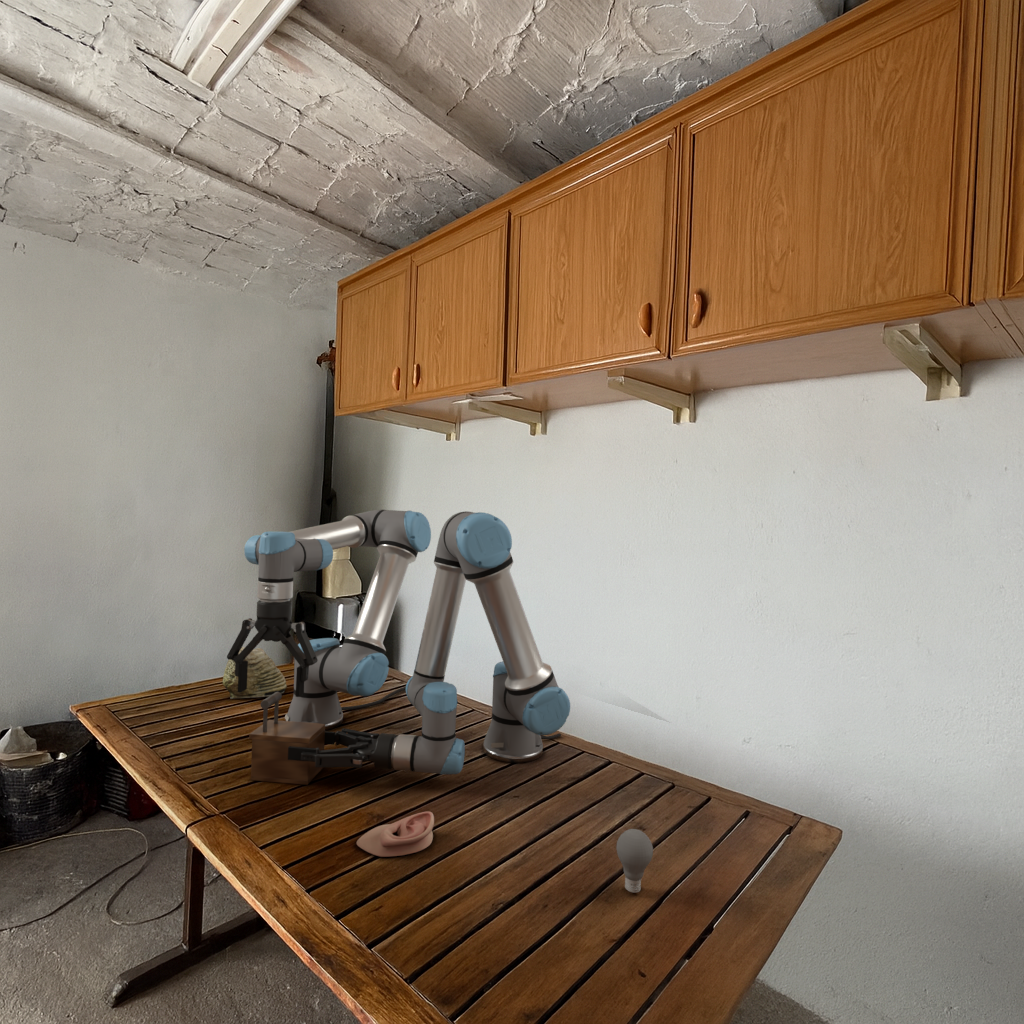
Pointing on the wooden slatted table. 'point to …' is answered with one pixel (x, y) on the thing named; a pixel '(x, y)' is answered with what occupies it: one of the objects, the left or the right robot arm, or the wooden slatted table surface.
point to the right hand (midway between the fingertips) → (298, 744)
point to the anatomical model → (399, 836)
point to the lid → (284, 726)
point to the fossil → (255, 676)
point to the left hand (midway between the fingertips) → (270, 693)
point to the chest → (283, 761)
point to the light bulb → (634, 857)
